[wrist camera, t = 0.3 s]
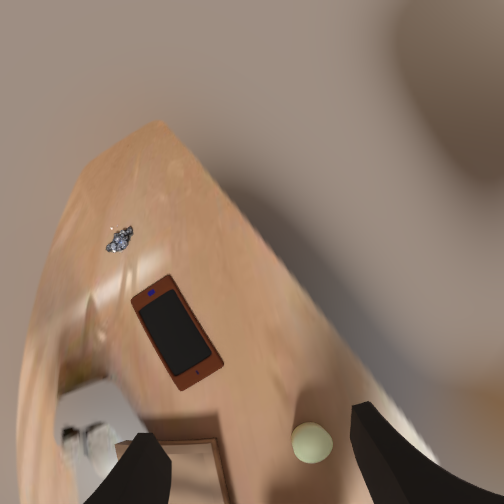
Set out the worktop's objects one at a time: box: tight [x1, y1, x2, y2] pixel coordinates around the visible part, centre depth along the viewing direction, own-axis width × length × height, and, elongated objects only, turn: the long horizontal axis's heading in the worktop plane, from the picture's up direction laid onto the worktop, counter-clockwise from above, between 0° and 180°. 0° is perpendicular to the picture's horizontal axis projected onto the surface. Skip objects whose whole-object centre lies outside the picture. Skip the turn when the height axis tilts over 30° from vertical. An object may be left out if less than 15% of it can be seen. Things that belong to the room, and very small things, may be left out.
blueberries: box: [106, 225, 133, 253], centre depth 45 cm, size 7×8×2 cm
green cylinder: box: [291, 422, 333, 463], centre depth 30 cm, size 4×4×5 cm
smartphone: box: [131, 276, 224, 391], centre depth 39 cm, size 7×1×15 cm
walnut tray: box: [115, 438, 230, 504], centre depth 29 cm, size 14×13×4 cm
